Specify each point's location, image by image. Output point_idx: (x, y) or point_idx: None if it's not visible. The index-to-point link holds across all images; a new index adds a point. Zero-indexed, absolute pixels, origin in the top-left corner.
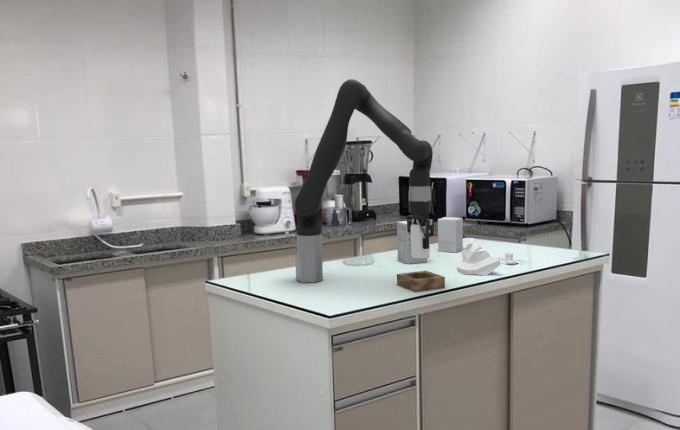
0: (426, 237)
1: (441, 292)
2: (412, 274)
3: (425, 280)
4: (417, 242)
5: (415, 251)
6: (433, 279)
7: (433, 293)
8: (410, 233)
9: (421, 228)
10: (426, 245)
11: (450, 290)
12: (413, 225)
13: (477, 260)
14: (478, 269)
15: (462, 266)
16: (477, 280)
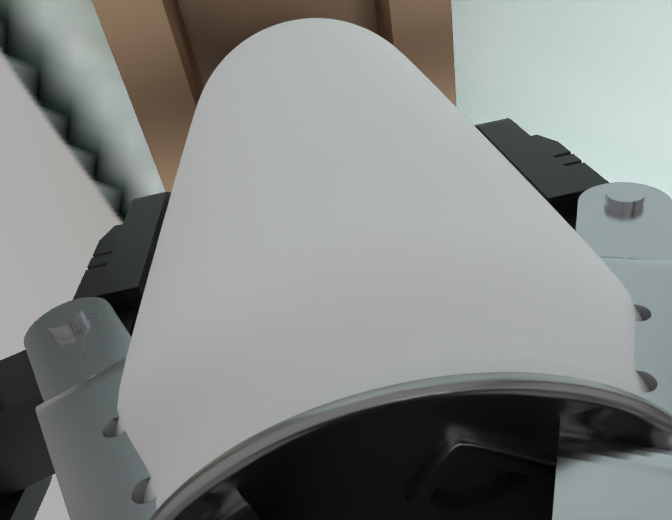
0: (24, 352)
1: (61, 135)
2: (391, 26)
3: (114, 55)
4: (193, 155)
5: (231, 70)
6: (149, 140)
7: (33, 64)
8: (631, 190)
9: (58, 456)
10: (99, 258)
11: (114, 212)
12: (375, 352)
13: None
14: None
15: None
16: None
